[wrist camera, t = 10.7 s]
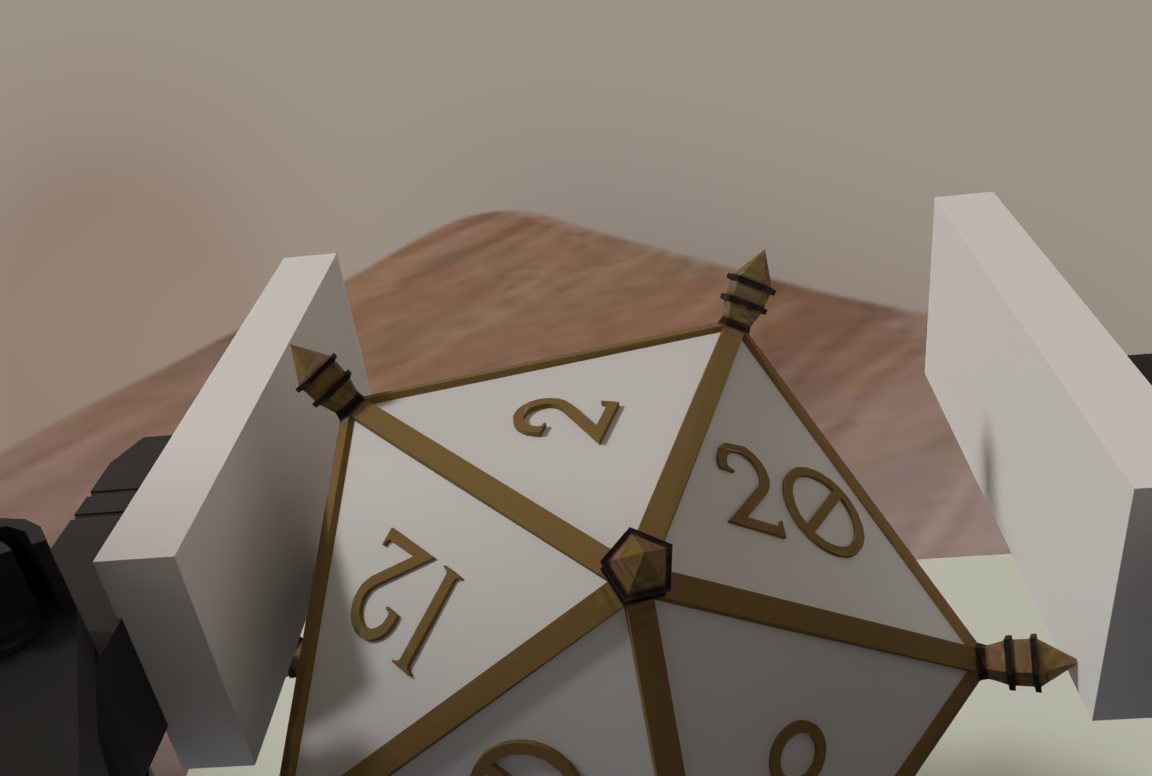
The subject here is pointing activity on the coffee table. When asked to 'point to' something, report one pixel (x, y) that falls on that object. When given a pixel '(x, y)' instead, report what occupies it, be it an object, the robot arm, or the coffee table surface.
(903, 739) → the game die
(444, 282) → the coffee table surface
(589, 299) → the coffee table surface
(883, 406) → the coffee table surface
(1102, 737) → the base block
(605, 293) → the coffee table surface
